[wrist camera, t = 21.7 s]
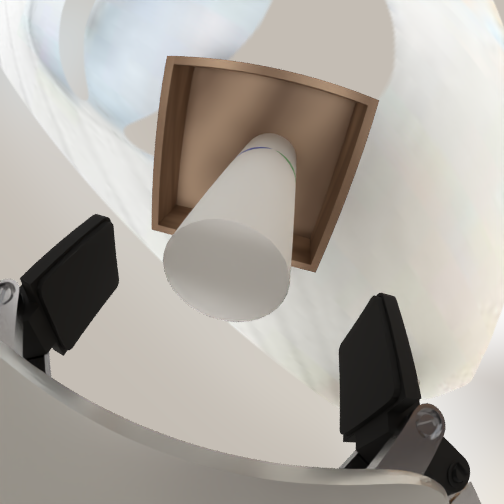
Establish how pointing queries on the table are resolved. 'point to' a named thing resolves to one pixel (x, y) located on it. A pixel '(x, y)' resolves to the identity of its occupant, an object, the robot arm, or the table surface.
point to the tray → (248, 127)
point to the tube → (239, 236)
